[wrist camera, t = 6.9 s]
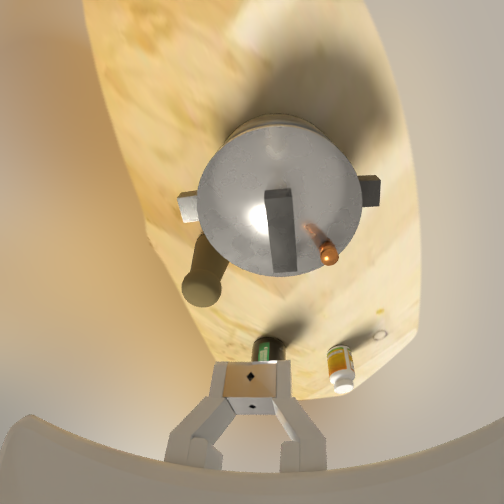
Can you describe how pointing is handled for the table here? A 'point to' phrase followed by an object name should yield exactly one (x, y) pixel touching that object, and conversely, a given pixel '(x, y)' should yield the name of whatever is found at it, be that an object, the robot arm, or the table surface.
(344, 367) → the supplement bottle
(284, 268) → the cooker lid
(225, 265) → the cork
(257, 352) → the supplement bottle
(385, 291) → the table surface
